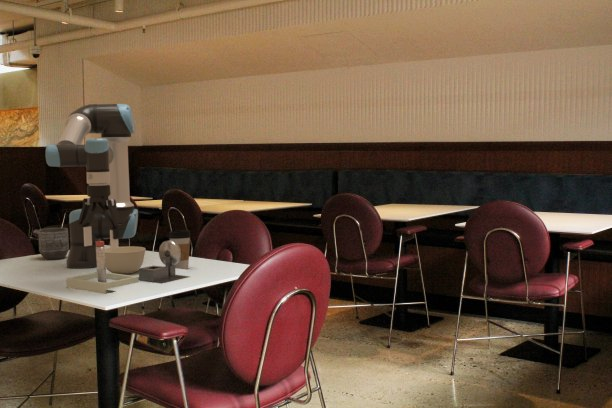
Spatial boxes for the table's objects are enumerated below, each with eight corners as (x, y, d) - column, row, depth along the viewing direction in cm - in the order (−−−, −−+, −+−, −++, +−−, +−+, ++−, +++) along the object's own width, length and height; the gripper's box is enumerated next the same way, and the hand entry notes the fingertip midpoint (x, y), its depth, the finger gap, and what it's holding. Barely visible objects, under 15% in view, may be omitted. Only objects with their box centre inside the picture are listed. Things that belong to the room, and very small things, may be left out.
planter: (33, 259, 293) (31, 230, 292) (53, 255, 304) (52, 227, 303) (55, 261, 288) (54, 231, 287) (75, 256, 299) (74, 228, 298)
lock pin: (96, 284, 231) (93, 241, 230) (103, 283, 233) (100, 240, 232) (101, 285, 229) (99, 241, 228) (108, 284, 232) (105, 240, 230)
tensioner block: (129, 283, 237) (127, 243, 236) (159, 276, 249) (157, 238, 247) (161, 287, 228) (160, 246, 227) (191, 280, 240) (189, 241, 238)
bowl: (142, 279, 243) (141, 252, 242) (96, 281, 242) (95, 253, 241) (149, 272, 259) (148, 245, 258) (106, 273, 258) (105, 247, 257)
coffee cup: (186, 271, 260) (185, 231, 258) (166, 270, 261) (164, 231, 260) (194, 267, 268) (193, 229, 267) (174, 266, 269) (173, 229, 268)
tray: (66, 287, 231) (66, 277, 231) (100, 280, 243) (99, 271, 242) (105, 293, 220) (105, 283, 220) (138, 286, 231) (138, 276, 231)
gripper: (65, 184, 232) (68, 245, 234) (114, 186, 218) (117, 251, 220) (83, 183, 239) (86, 243, 241) (132, 184, 225) (135, 248, 227)
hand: (101, 247), depth 231 cm, fingers open, 13 cm apart
